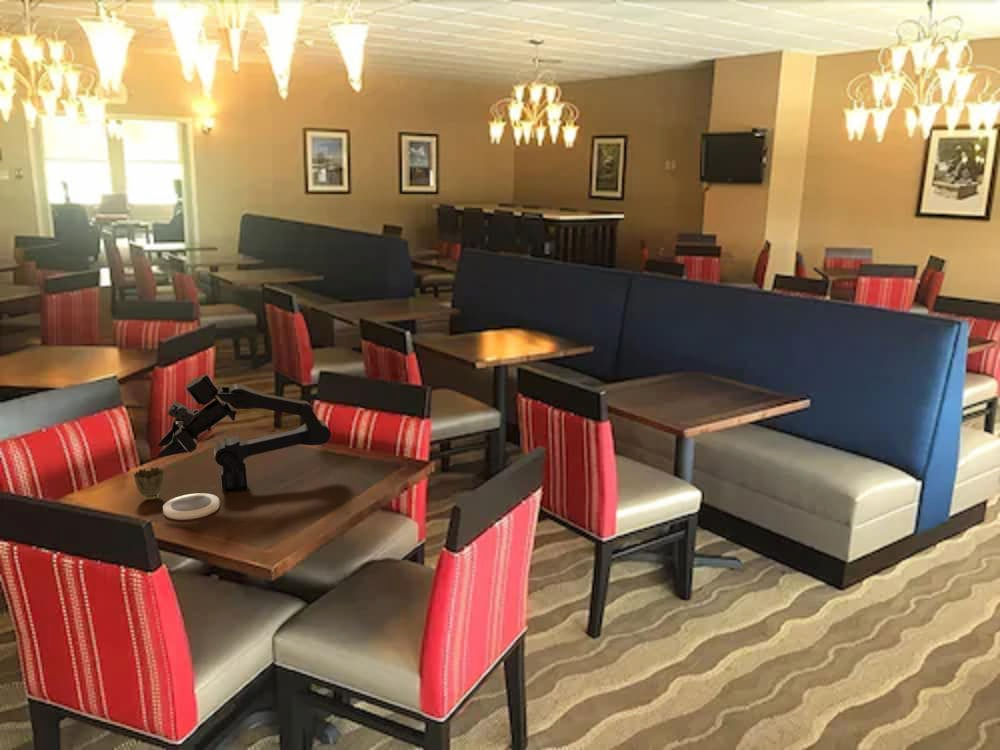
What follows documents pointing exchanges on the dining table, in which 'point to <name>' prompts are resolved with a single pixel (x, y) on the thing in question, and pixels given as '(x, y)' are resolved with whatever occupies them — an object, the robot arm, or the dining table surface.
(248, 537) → the dining table surface
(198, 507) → the hub plate
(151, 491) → the cup
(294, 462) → the dining table surface
